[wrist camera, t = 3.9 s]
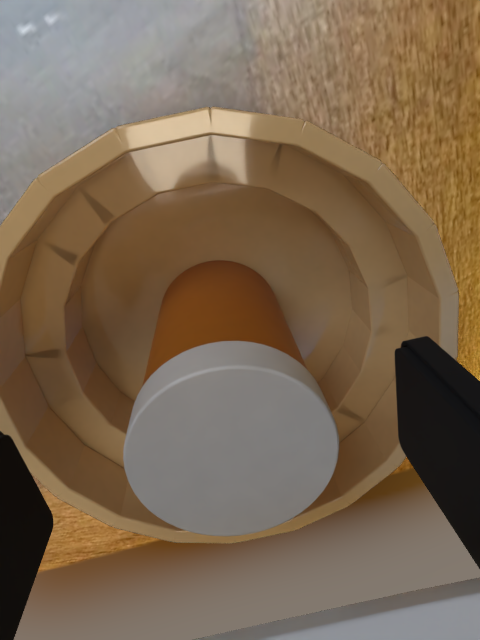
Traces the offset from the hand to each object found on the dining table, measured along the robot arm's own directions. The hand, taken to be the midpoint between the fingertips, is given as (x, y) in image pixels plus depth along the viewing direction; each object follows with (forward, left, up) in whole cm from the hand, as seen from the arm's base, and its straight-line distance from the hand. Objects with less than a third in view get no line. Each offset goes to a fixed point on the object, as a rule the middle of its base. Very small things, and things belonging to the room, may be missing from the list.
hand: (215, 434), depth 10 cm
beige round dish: (0, 0, -8) cm, 8 cm away
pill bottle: (0, 0, -7) cm, 7 cm away
